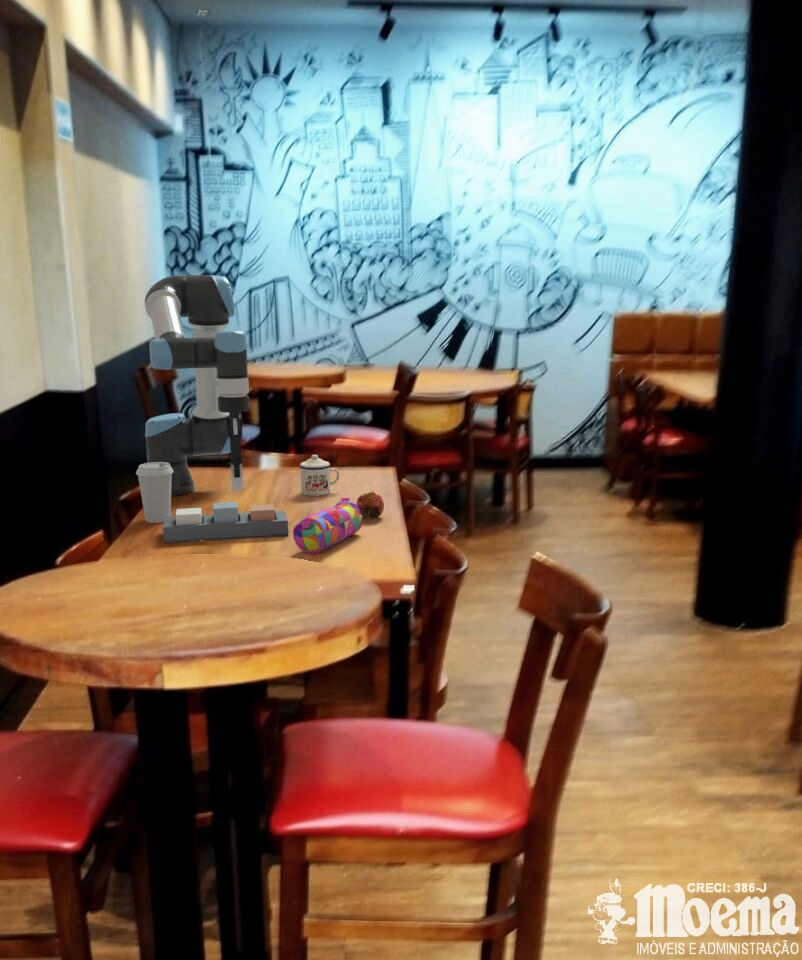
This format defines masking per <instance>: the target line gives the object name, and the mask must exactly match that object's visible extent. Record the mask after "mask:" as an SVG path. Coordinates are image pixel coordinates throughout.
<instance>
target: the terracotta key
mask: <svg viewBox="0 0 802 960" xmlns="http://www.w3.org/2000/svg"><path fill="white" fill-rule="evenodd" d="M275 511H276V510H275V505H274V503H271V504H270V503H269V504H250V505H249V513H250V521H261V520H275Z"/></svg>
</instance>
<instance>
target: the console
mask: <svg viewBox="0 0 802 960" xmlns="http://www.w3.org/2000/svg"><path fill="white" fill-rule="evenodd" d="M238 520H239V522H225V523H214V516H213V514H202V524H189V525H176V516H171V517H165V522H163V526H162V533H163V534H162V535H163V544H173V543H174V544H175V543H176V544H177V543H179V544H180V543H192V542H191V541H196V542H201V541H200V540H213V541H224V540H225V541H227V540H228V541H229V540H243V539H260V538H261V539H262V538H275V537H276V538H277V537H279V538H280V537H289V520H288V517H287V513H286V510H275V520H261V521H250V512H238Z"/></svg>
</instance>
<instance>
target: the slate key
mask: <svg viewBox="0 0 802 960" xmlns="http://www.w3.org/2000/svg"><path fill="white" fill-rule="evenodd" d="M212 504H213V505H212V509H213V510H212V512H213V514H212V515H213V516H214V523H225V522H239V520H238V513H239V504H238V501H227V502H213V503H212Z"/></svg>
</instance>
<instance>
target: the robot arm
mask: <svg viewBox="0 0 802 960" xmlns="http://www.w3.org/2000/svg"><path fill="white" fill-rule="evenodd" d="M144 309H145V312H146V314H147V316H148V317H149V318H150V319H151V323H152V329H153V335H154V338H153V339H150V341H149V358H150V365H151V368H152V369H154V370H165V371H169V370H183V369H184V370H185V369H186V370H187V369H189V370H190V369H195V387H196V388H195V390H196V393H195V394H196V407H194V409H193V410H192V411H191V417H186V415H185V414H184V413H183V412H182V413H181V412H178V413H177V412H176V413H166V414H162V415H161V414H160V415H157V416H154V417H151V418H149V419H147V421H146V422H145V425H144V426H145V434H144V437H145V440H146V443H145V444H146V460H147V463H151V462H165V463H169V464H170V466H171V467H172V469H173V473H172V480H171V497H176V496H177V497H178V496H183V495H186V494H190V493H192V492H194V491H195V482H194V478H193V476H192V473H191V471H190V468H189V466H188V457H199V456H212V455H213V456H215V455H216V456H220V455H224V454H229V453H230V461H228V462H227V463H228V466H230V476H231V477H230V479H231V491H242V490H244V482H243V481H244V480H243V479H244V478H243V476H244V475H243V463H244V462H245V459H242V437H243V426H244V420H243V417H240V413H246V412H248V411H249V410H250V396H249V395H248V394H249V393H250V387H249V375H248V370H249V369H248V343H247V334H246V333H245V332H244V331H242V330H225V328H226V327H227V326H228V325H229V324H230V318H232V317H234V316H235V303H234V296H233V291H232V288H231V284H230V282H229V280H228V278H227V277H225V276H222V275H213V274H209V275H208V274H207V275H206V274H204V275H196V274H195V275H170V276H166V277H164V278H162V279H159V280H158V281H157V282H156V283H154V284H153V285H151V287H150V288H149V290H148V291H147V292H146V295H145V298H144ZM181 318H187V321H188V324H189V325H190V326H191V327H192V328H193V335H194V336H193V337H186V333H185V330H184V329H185V328H184V326H183V322H182V319H181Z"/></svg>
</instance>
